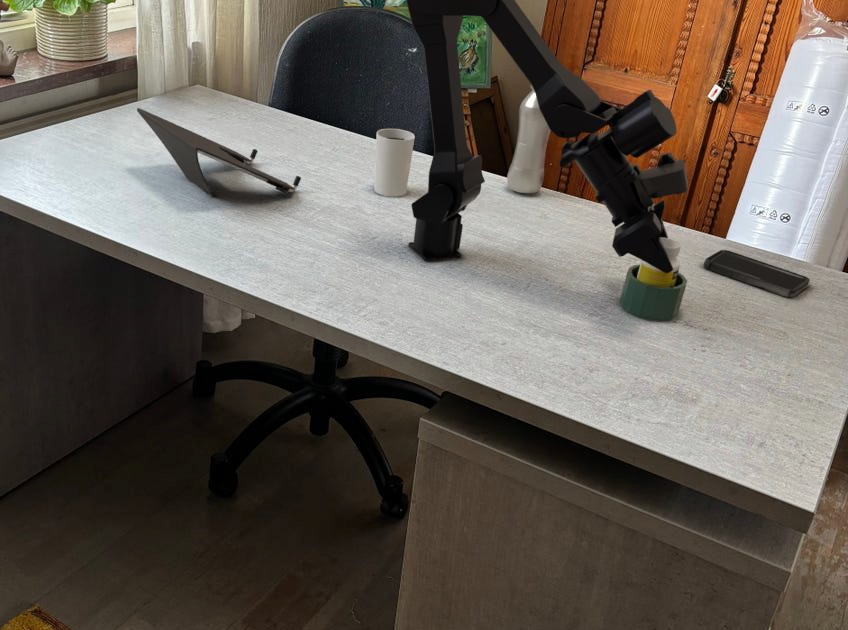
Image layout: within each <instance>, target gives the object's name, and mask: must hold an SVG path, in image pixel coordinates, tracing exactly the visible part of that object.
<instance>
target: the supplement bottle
mask: <svg viewBox="0 0 848 630" xmlns="http://www.w3.org/2000/svg"><path fill="white" fill-rule="evenodd" d="M660 238H661V241H662V243H663V245H664V248H665V250H666V252H667V255H668V257H669V259H670V262H671V264H672V267H673V271H671V272H669V273H667V274H666V273H664V272H662V271H661V270H659V269H657V268H655V267H654V266H652V265H650V264H648V263H647V262H645V261H643V260H641V259H640V260H641V261H640V264H639V265H640V268H639V271H638V275H637V279H638V280H639V281H641V282H644V283H646V284H649V285H654V286H658V287H674V285H675V281H676V278H677V275H678V272H680V268H681V261H680V260H679V258H678V256H679V254H680V251H681V246H682V245H681V243H680V242H679V241H677V240H675V239H673V238H669V237H668V238H664V237H660Z"/></svg>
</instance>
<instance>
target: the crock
mask: <svg viewBox="0 0 848 630" xmlns="http://www.w3.org/2000/svg"><path fill="white" fill-rule="evenodd" d="M639 268H640V264H635V265H633V266H630V267H628V270H627V272H626V276H625V279H624V283H623V287H622V292H621V295H620V299H619V306H620V308H621V309H622V310H623V311H624V312H626V313H627V314H629V315H632V316H634V317H636V318H639V319H642V320H647V321H654V322H667V321H671V320H674V319H675V318H677V317H678V315H679V313H680V312H679V311H680V308H681V305H682V301H683V298H684V294H685V291H686V288H687V284H688V279H687V278H686V277H685V276H684V274H682V273H681V272H680V271H678V275H677V278H676V281H675V285H674V287H658V286H654V285H649V284H646V283H644V282H641V281H639V280H638V279H637V275H638V271H639Z"/></svg>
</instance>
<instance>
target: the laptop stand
mask: <svg viewBox="0 0 848 630" xmlns="http://www.w3.org/2000/svg"><path fill="white" fill-rule="evenodd" d="M136 112H137V113H138V114H139V116H140V117H141V118H142V119H143V120H144V122H146V124H147V125H148V126H149V128H150V129H151V130H152V132H153V133H154V134H155V135H156V137H157V138H158V139H159V141H160V142H161V144H162V145H163V146H164V147H165V149H166V150H167V152H168V153H169V155H170V156H171V158H172V159H173V160H174V162H175V163H176V165H177V166H178V168H179V169H180V171H181V173H182V174H183V175H184V176H185V179H187V180H188V181H190V182H192V183H194V184H195V185H197V186H198V187H199V188H200V189H201V190H202V191H204V192H205V193H206V194H207V195H209V196H210V197H212V196H213V195H214V193H213V191H212V189H211V187H210V185H209V184H208V182H207V180H206V178H205V175H204V173H203V170H202V168H201V164H200V162H199V161H200V160H199V154H200V155H202V156H205V157H208V158H210V159H212V160H214V161H216V162H219V163H221V164H224V165H226V166H228V167H231V168H233V169H235V170H237V171H239V172H242V173H244V174H247V175H249V176H251V177H253V178H256V179H257V180H260V181H263V182H265V183H266V184H268V185H271V186H273V187H275V188H274V189H275V190H276V191H278V192H280V193H283V194H285V195H287V194H288V192H289V193H294V192H295V191H296V190H297V188H298V186H299V184H300V182H301V180H302V177H301V176H300V175H296V176H295V178H294V181H293V183H292V185H291V184H289V183H287V182H286V181H283V180H281V179H279V178H277V177H275V176H273V175H271V174H268V173H266V172H264V171H261V170H260V169H257V168H255V167H253V166H250V165H251V164H252V163H253V162H254V161H255V159H256V156H257V154H258V152H259V151H258V150H257V149H256V148H253V149H252V151H251V153H250V155H249V158H248V157H246V156H245V155H243V154H241V153H239V152H237V151H235V150H234V149H231V148H229V147H227V146H225V145H222V144H221V143H218V142H216V141H214V140H212V139H210V138H207V137H205V136H203V135H200V134H198V133H196V132H195V131H192V130H190V129H187V128H185V127H183V126H181V125H178V124H177V123H174V122H173V121H172V122H171V121H170V120H167V119H164V118H162V117H160V116H158V115H156V114H153V113H151V112H150V111H147V110H145V109H142V108H140V107H138V108H136Z"/></svg>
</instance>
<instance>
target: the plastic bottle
mask: <svg viewBox="0 0 848 630" xmlns="http://www.w3.org/2000/svg"><path fill="white" fill-rule="evenodd" d="M530 90H531V91H530V92H529V93H528V94H527V96H525V98H524V99H523V100H522V102H521V104H520V105H519V109H518V128H517V129H518V130H517V139H516V145H515V149H514V153H513V157H512V159H511V163H510V166H509V169H508V172H507V176H506V183H507V186H508V188H509V189H511V191H514V192H517V193H524V194H534V193H537V192H538V191H539V190H540V189H541V188H542V186H543V184H544V180H545V161H546V153H547V152H546V151H547V146H548V143H549V138H550V134H551V130H550V129H549V127H548V125H547V123H546V121H545V119H544V117H543V115H542V113H541V111H540V109H539V106H538V101H537V97H536V93H535V91H534V89H533V87H532V85H531V84H530Z"/></svg>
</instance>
